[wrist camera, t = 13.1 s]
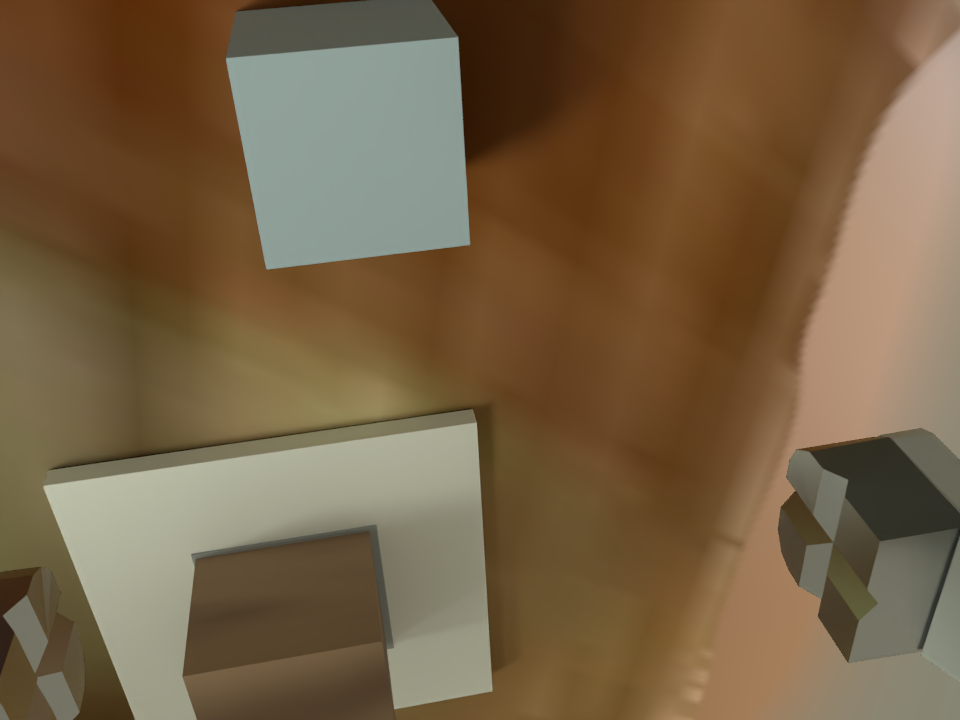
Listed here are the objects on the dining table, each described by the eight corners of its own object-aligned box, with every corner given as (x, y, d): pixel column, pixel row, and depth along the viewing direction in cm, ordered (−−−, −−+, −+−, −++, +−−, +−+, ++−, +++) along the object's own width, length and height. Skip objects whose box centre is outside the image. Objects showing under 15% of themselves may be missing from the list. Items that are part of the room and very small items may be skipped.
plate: (488, 675, 39) (492, 693, 38) (151, 737, 37) (148, 756, 36) (472, 408, 31) (477, 424, 31) (48, 470, 30) (41, 488, 29)
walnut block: (386, 645, 35) (400, 759, 31) (229, 673, 35) (222, 793, 30) (369, 531, 32) (381, 641, 28) (195, 559, 31) (182, 676, 27)
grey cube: (440, 174, 27) (469, 244, 23) (269, 193, 26) (266, 269, 22) (427, -6, 24) (458, 37, 20) (236, 10, 23) (225, 58, 19)
